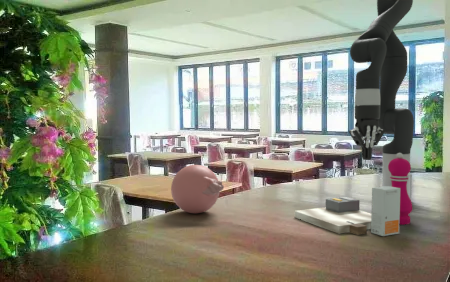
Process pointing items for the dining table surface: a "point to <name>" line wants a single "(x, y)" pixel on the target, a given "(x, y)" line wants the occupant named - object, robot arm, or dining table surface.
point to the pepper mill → (401, 185)
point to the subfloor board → (337, 220)
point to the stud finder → (342, 204)
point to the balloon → (195, 189)
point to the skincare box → (385, 210)
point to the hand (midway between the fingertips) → (366, 159)
